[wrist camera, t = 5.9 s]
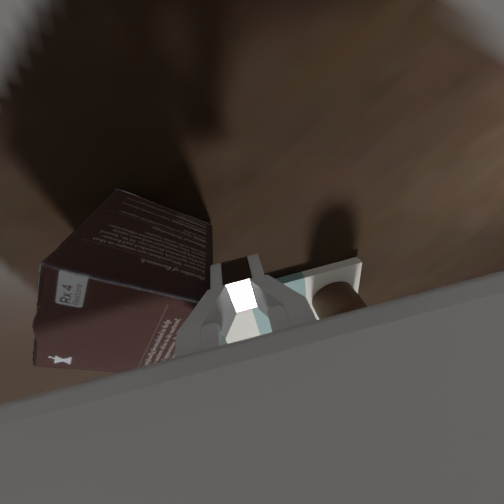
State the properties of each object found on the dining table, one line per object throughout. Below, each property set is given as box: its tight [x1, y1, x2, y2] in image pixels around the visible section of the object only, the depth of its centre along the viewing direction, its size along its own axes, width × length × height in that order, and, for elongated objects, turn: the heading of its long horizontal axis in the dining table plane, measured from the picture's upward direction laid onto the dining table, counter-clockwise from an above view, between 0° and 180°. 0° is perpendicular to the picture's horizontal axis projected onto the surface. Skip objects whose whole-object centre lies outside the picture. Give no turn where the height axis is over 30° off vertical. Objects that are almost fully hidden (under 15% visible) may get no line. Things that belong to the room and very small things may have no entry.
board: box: [226, 257, 362, 344], centre depth 21 cm, size 20×7×1 cm, turn 101°
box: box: [32, 189, 213, 373], centre depth 12 cm, size 6×6×7 cm
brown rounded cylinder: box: [312, 281, 367, 319], centre depth 17 cm, size 4×4×8 cm
